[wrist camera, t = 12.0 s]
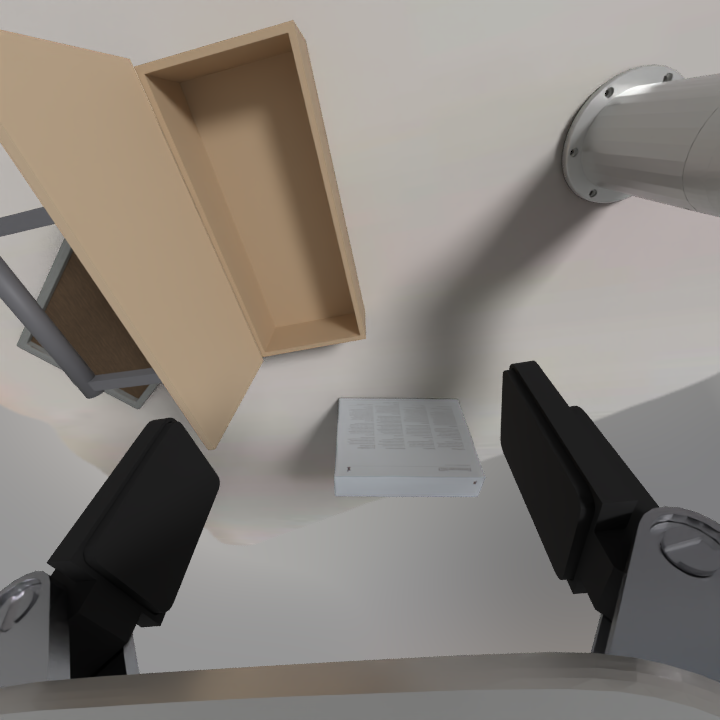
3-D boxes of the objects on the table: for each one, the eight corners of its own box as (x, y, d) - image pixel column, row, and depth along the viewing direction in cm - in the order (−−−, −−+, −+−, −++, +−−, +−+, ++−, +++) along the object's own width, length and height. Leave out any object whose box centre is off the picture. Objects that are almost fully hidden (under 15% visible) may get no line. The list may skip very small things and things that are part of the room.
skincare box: (338, 419, 62) (333, 497, 49) (338, 396, 59) (332, 473, 46) (454, 421, 62) (479, 499, 49) (459, 398, 59) (487, 475, 46)
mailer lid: (-79, 11, 16) (-209, 66, 18) (213, 451, 33) (133, 458, 35) (129, 58, 28) (41, 88, 30) (263, 360, 45) (202, 368, 47)
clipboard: (220, 305, 48) (132, 418, 61) (223, 300, 50) (136, 412, 62) (78, 204, 41) (10, 356, 53) (87, 202, 42) (19, 350, 54)
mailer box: (305, 40, 33) (293, 20, 27) (365, 312, 50) (365, 338, 44) (174, 77, 35) (133, 67, 29) (274, 329, 52) (262, 357, 45)
